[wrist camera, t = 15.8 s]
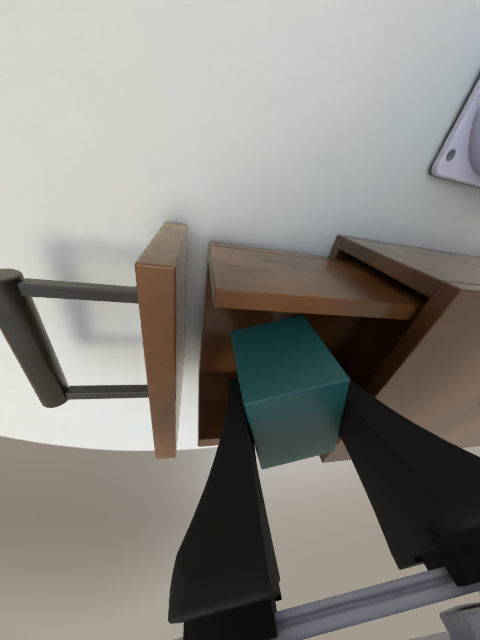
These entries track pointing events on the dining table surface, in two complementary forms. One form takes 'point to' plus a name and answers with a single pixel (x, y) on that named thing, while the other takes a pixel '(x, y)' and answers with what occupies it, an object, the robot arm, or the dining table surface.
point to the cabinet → (428, 341)
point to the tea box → (289, 390)
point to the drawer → (214, 322)
